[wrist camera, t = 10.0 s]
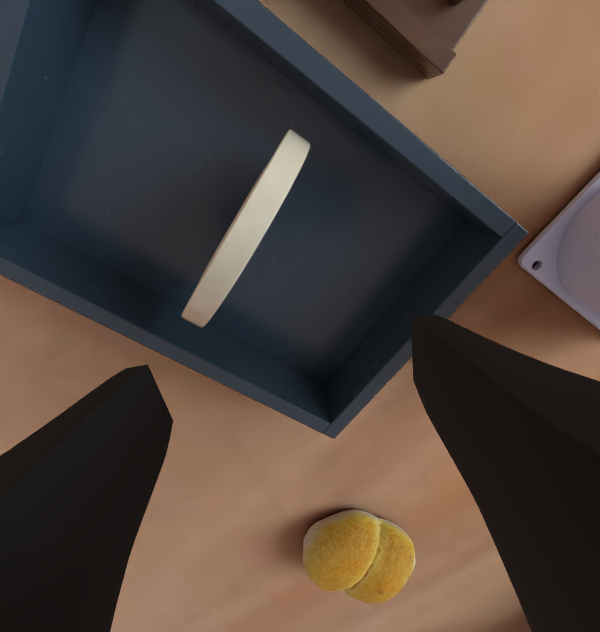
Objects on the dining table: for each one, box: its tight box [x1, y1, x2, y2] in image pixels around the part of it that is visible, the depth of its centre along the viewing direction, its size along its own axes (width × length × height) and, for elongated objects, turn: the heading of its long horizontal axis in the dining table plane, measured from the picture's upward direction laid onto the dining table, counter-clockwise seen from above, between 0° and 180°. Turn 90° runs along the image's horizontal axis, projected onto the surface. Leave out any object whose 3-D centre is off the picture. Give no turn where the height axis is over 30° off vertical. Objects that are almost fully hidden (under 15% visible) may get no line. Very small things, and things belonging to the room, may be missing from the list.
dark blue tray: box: [0, 0, 528, 439], centre depth 16 cm, size 20×14×4 cm
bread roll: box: [302, 509, 416, 604], centre depth 28 cm, size 8×9×4 cm
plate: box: [180, 129, 311, 328], centre depth 14 cm, size 1×8×8 cm, turn 146°
